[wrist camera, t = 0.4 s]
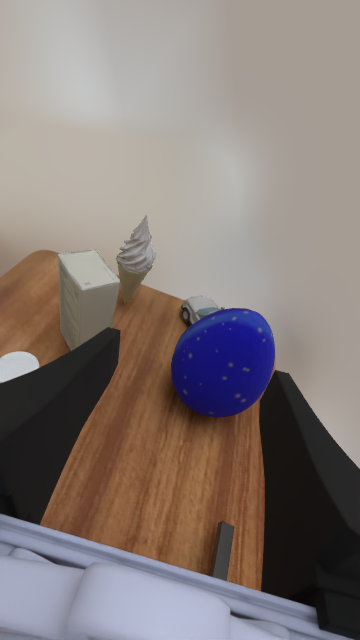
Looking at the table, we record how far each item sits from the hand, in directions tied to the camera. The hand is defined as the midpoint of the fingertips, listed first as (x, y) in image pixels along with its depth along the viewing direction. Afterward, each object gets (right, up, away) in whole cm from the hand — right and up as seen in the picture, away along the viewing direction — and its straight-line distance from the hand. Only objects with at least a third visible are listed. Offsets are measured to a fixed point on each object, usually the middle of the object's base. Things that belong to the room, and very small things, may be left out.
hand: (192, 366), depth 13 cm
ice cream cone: (-9, +5, +32) cm, 34 cm away
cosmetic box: (-13, -1, +25) cm, 28 cm away
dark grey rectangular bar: (+3, -18, +11) cm, 21 cm away
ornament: (+2, -8, +24) cm, 25 cm away
